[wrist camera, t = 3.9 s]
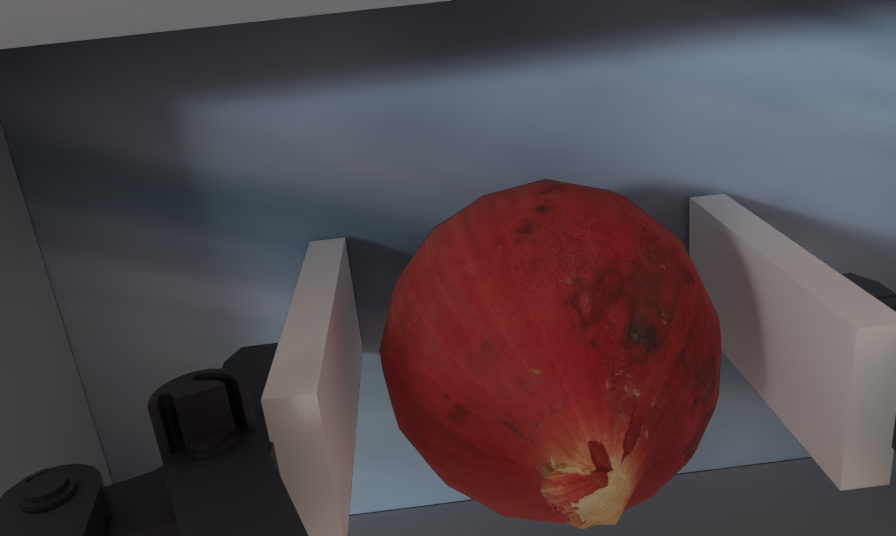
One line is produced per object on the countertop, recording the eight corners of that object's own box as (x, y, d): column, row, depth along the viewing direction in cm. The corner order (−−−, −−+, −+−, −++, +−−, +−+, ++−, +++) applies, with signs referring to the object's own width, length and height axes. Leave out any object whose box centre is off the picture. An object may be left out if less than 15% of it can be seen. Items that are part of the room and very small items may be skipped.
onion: (490, 86, 16) (578, 194, 8) (697, 236, 17) (927, 442, 10) (335, 304, 17) (292, 560, 10) (538, 426, 19) (633, 726, 11)
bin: (95, 587, 20) (26, 732, 16) (-112, -19, 14) (-288, -13, 11) (962, 477, 20) (1091, 592, 17) (1069, -144, 15) (1294, -179, 11)
